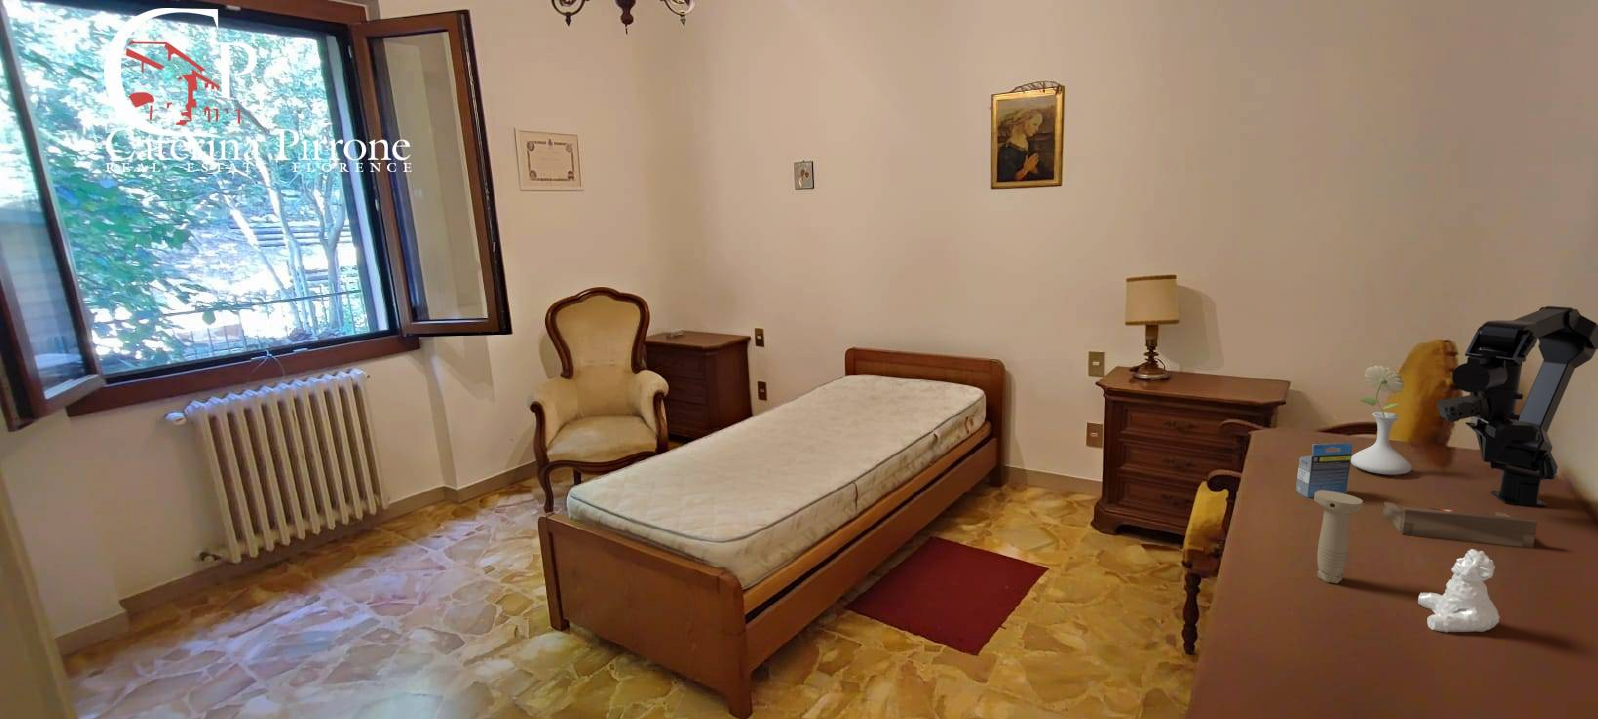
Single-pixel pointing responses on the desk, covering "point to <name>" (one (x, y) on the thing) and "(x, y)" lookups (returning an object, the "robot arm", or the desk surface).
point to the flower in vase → (1382, 428)
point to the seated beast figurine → (1464, 598)
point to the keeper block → (1462, 526)
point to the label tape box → (1324, 469)
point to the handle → (1334, 533)
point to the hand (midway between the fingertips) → (1486, 461)
